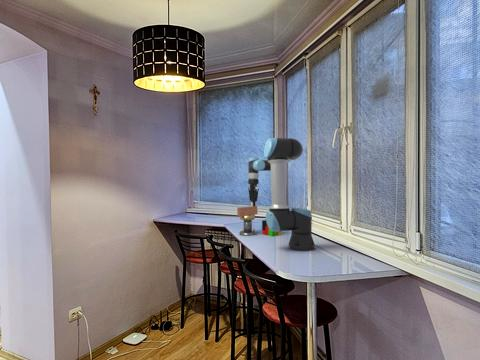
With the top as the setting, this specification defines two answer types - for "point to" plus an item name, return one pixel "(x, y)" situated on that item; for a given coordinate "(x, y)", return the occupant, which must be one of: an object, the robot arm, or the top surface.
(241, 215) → the coupling
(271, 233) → the puzzle toy
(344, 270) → the top surface
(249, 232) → the post
